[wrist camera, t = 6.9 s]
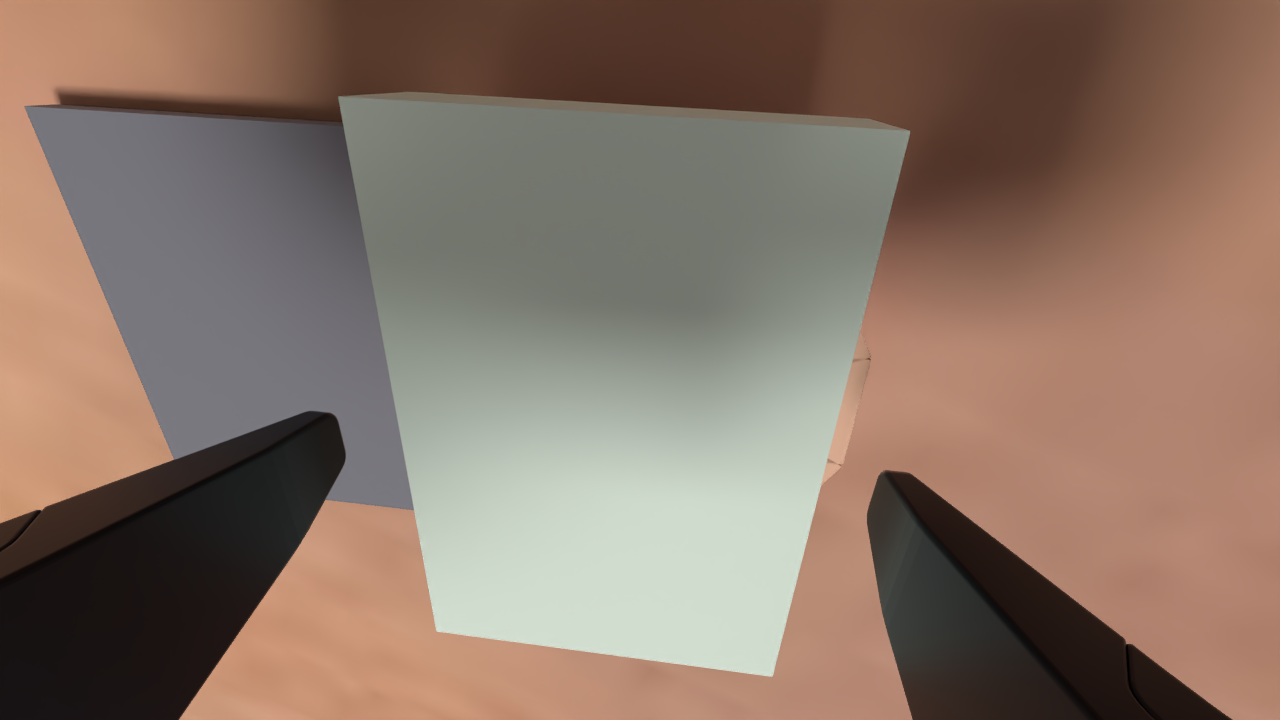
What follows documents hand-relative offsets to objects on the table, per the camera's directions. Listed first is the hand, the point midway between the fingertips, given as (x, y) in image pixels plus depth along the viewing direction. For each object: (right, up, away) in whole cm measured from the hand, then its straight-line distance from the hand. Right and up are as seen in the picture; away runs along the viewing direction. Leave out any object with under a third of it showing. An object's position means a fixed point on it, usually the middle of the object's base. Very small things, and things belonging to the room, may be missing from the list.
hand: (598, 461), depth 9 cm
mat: (-10, +3, +7) cm, 13 cm away
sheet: (0, +1, +2) cm, 2 cm away
